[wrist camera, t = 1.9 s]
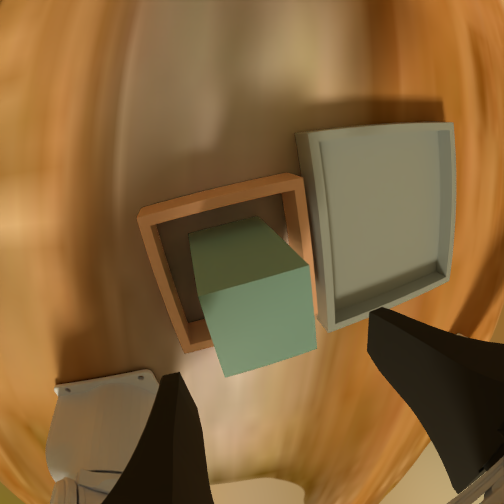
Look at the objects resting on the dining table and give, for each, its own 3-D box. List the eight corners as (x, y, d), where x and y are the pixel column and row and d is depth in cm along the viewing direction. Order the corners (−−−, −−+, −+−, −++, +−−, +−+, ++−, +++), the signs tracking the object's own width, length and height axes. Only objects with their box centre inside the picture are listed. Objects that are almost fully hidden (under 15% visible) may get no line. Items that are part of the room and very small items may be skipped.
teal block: (205, 295, 20) (225, 377, 13) (188, 233, 19) (198, 296, 11) (269, 278, 21) (316, 348, 14) (257, 215, 19) (309, 265, 12)
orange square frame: (182, 331, 21) (184, 353, 19) (141, 207, 17) (136, 218, 15) (304, 297, 22) (318, 314, 20) (287, 172, 19) (302, 177, 16)
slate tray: (317, 318, 23) (328, 332, 22) (294, 132, 18) (307, 132, 16) (435, 272, 25) (449, 280, 24) (435, 121, 20) (453, 122, 18)
